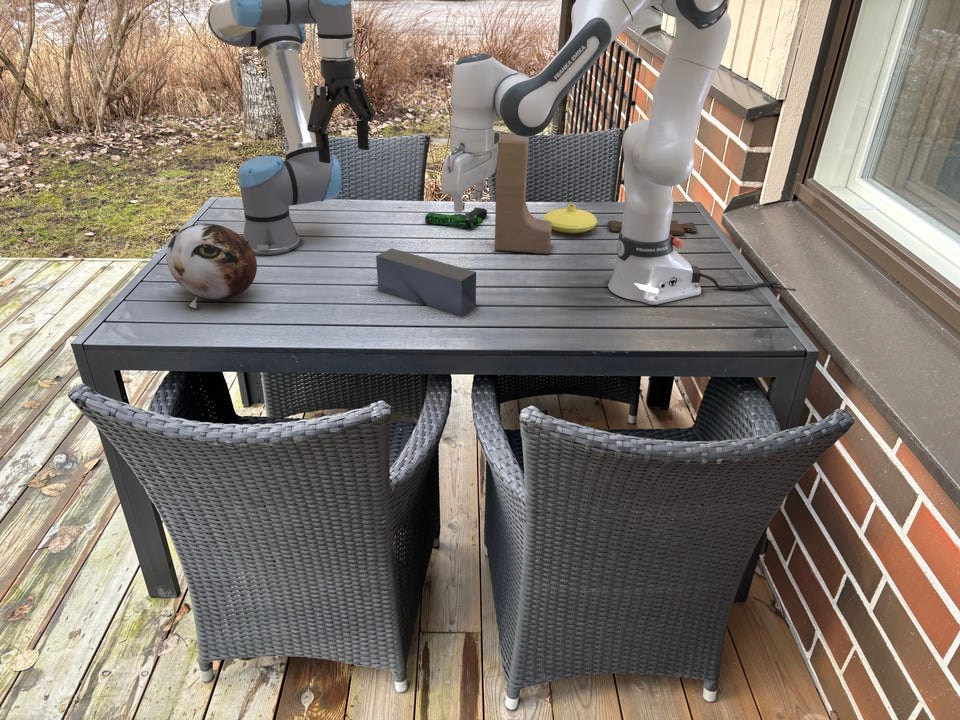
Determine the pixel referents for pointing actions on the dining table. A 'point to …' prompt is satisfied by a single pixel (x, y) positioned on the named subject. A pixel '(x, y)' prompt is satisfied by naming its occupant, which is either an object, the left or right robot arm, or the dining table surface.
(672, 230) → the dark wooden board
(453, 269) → the bar
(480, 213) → the handgun
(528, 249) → the decorative block
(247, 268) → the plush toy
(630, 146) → the right robot arm
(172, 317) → the dining table surface
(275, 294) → the dining table surface
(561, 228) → the yellow lid
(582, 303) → the dining table surface
